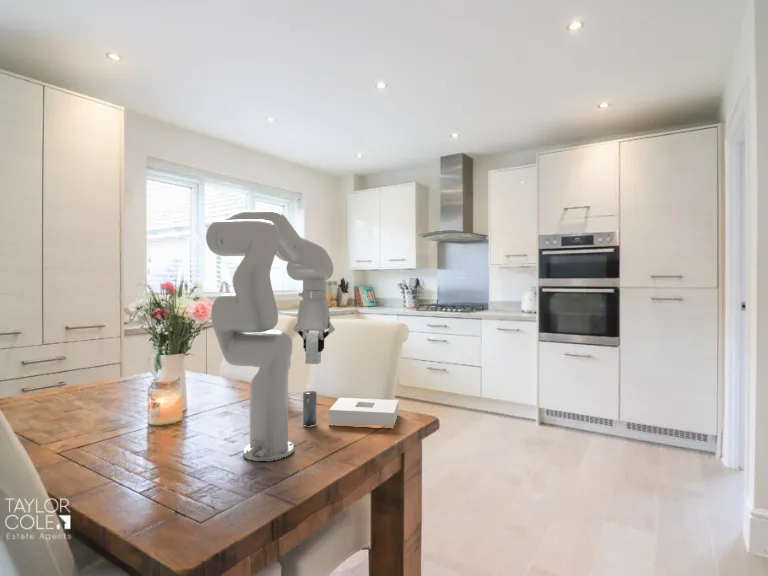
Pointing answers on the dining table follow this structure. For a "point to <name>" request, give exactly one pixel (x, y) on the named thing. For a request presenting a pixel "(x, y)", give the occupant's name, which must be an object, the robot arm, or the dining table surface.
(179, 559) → the dining table surface
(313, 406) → the round peg
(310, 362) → the square peg
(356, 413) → the block
